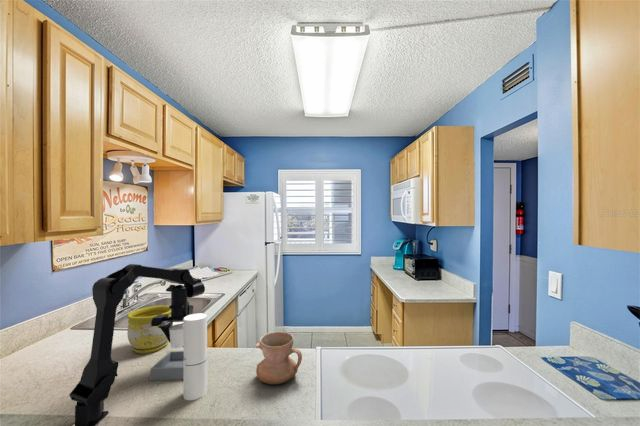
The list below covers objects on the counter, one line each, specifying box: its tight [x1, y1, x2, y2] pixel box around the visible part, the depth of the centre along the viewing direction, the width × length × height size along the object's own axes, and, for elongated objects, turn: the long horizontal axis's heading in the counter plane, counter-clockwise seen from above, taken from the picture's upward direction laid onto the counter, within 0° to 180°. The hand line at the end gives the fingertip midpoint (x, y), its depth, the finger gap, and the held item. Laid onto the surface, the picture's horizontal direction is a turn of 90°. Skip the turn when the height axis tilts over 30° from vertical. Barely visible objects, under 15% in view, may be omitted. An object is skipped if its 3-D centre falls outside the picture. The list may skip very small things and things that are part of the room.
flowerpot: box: [126, 305, 174, 354], centre depth 126 cm, size 18×18×16 cm
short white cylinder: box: [169, 323, 184, 349], centre depth 107 cm, size 7×7×7 cm
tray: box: [149, 350, 184, 381], centre depth 106 cm, size 14×14×4 cm
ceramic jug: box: [254, 331, 303, 385], centre depth 100 cm, size 18×14×14 cm
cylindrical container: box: [182, 312, 208, 401], centre depth 91 cm, size 7×7×25 cm
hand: (179, 341), depth 107 cm, fingers closed on short white cylinder, 6 cm apart
